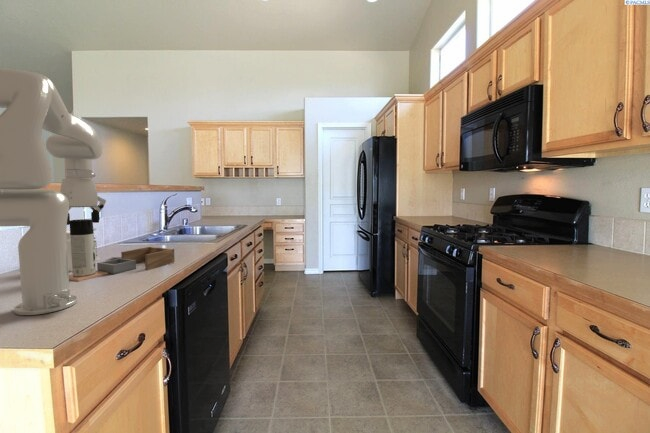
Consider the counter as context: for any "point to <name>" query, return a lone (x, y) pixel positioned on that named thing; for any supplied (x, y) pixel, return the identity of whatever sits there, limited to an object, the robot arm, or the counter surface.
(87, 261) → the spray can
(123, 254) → the cubby
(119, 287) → the counter surface
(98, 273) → the pad
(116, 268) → the bin
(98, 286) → the counter surface
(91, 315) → the counter surface
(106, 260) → the crook
